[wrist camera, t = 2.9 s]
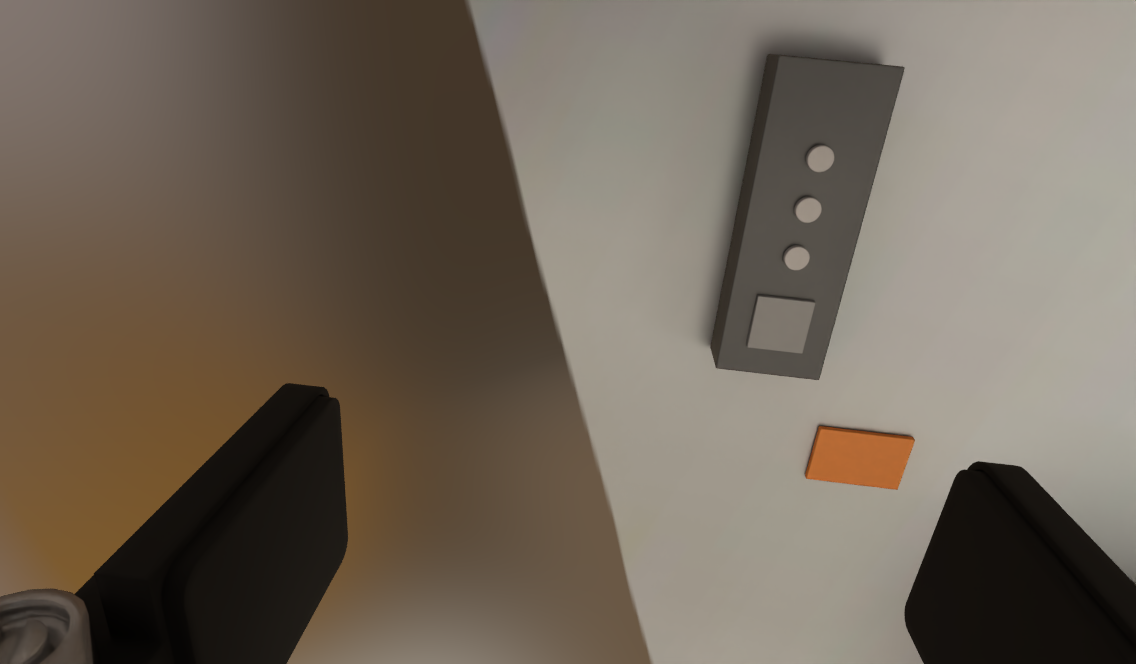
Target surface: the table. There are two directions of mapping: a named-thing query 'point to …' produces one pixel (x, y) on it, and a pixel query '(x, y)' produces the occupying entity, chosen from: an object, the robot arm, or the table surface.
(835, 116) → the remote
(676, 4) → the table surface
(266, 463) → the robot arm
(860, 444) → the tiles
